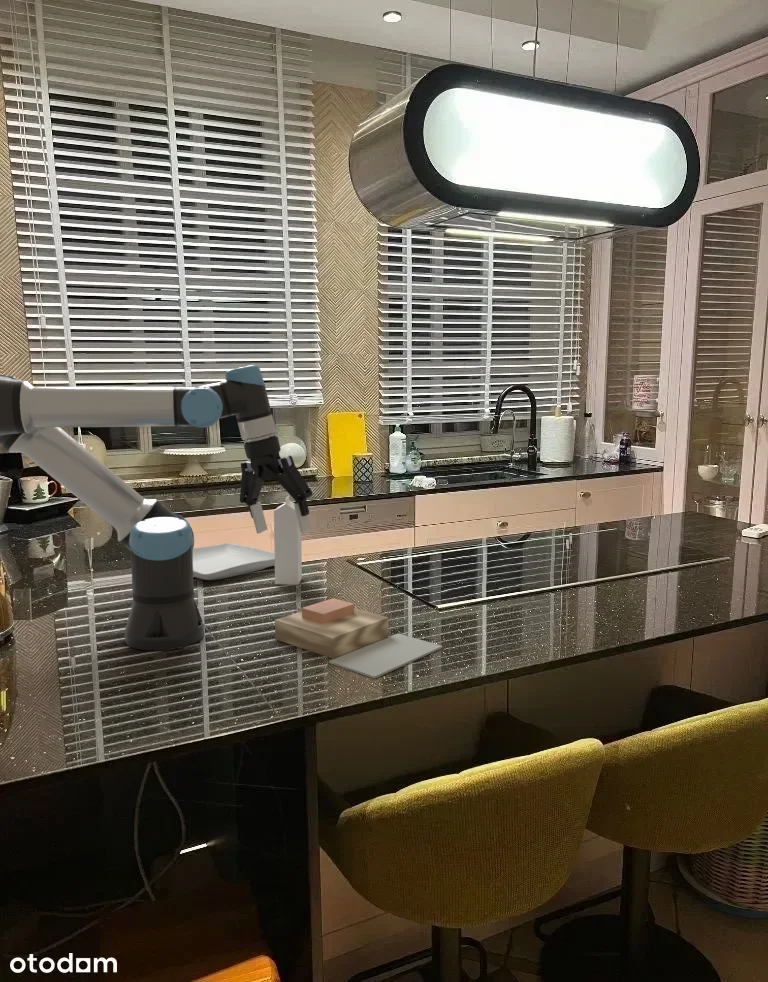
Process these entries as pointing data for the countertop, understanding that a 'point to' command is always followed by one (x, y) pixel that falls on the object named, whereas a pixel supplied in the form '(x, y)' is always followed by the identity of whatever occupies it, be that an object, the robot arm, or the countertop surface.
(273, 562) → the square plate
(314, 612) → the pink block
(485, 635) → the countertop surface
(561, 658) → the countertop surface
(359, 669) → the mat
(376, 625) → the board
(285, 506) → the milk
